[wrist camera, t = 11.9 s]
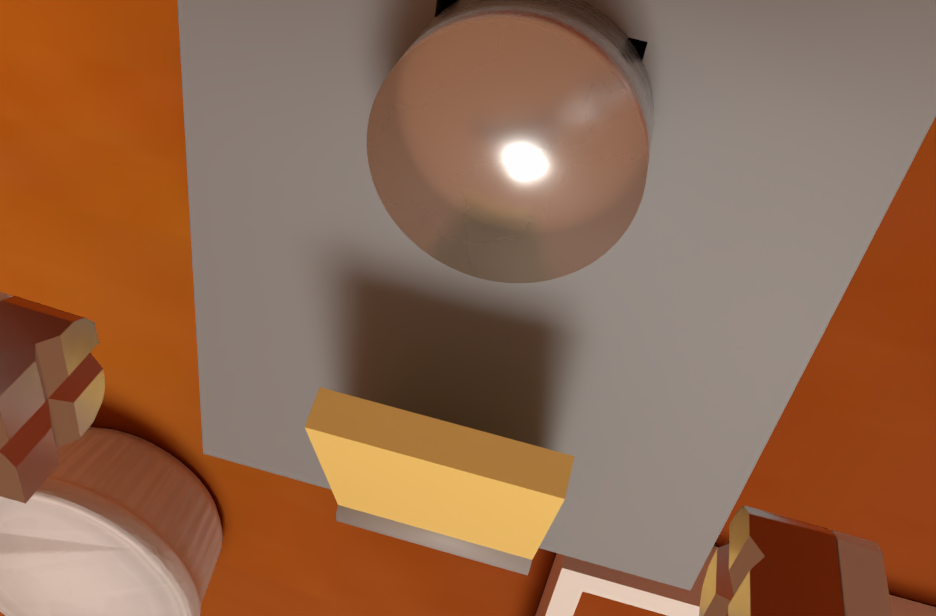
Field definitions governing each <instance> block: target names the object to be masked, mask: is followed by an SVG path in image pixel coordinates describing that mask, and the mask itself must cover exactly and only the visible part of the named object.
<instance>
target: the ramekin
mask: <svg viewBox="0 0 936 616" xmlns="http://www.w3.org/2000/svg"><path fill="white" fill-rule="evenodd" d="M58 450H59V465H58V466H57V467H56V468H55V469H54V470H53V472H52V473H51V474H50V475H49V476H48V478H47V479H46V480H45V481H44V482H43V484H42V485H41V486H40V487H39V488H38V490H37V491H36V492H35V493H34V494H33V496H32V497H31V498H30V499H29V500H28V502H27V503H22V502H19V501H15V500H11V499H8V498H4V497H1V496H0V612H2V613H3V614H4V615H5V616H200V613H201V603H202V600H203V597H204V595H205V592H206V590H207V587H208V584H209V581H210V579H211V576H212V573H213V570H214V567H215V565H216V562H217V559H218V556H219V553H220V551H221V544H222V540H223V537H222V526H221V523H220V517H219V514H218V510H217V507H216V505H215V502H214V500H213V499H212V497H211V495H210V493H209V492H208V490H207V489H206V487H205V486H204V485H203V483H202V482H201V481H200V479H199V478H198V477H197V476H196V475H195V474H194V473H193V472H192V471H191V470H190V469H189V468H187V467H186V466H185V465H184V464H183V463H182V462H180V461H179V460H178V459H176V458H175V457H174V456H172V455H171V454H169V453H168V452H166V451H165V450H163V449H161V448H160V447H158V446H156V445H154V444H152V443H150V442H148V441H146V440H144V439H142V438H139V437H137V436H134V435H131V434H128V433H125V432H121V431H117V430H113V429H107V428H98V427H89V428H88V429H87V430H86V432H85V433H84V434H83V435H82V437H81V438H79V439H77V440H75V441H72V442H70V443H68V444H65V445H63V446H61V447H58Z"/></svg>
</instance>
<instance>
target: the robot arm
mask: <svg viewBox="0 0 936 616" xmlns="http://www.w3.org/2000/svg"><path fill="white" fill-rule="evenodd" d="M98 343H99V341H98V337H97V332H96V328H95V323H94V322H92V321H90V320H88V319H86V318H84V317H80V316H77V315H74V314H71V313H68V312H65V311H61V310H58V309H55V308H52V307H49V306H46V305H42V304H39V303H36V302H33V301H30V300H26V299H23V298H20V297H17V296H12V295H9V294H5V293H2V292H0V496H1V497H4V498H8V499H11V500H15V501H19V502H22V503H27V502H28V500H29V499H30V498H31V497H32V496H33V494H34V493H35V492H36V491H37V490H38V488H39V487H40V486H41V485H42V484H43V482H44V481H45V480H46V479H47V478H48V476H49V475H50V474H51V473H52V472H53V470H54V469H55V468H56V467H57V466H58V465H59V450H58V447H61V446H63V445H65V444H68V443H70V442H72V441H75V440H77V439H79V438H81V437H82V435H83V434H84V433H85V432H86V430H87V429H88V428H89V427H90V425H91V424H92V423H93V422H94V420H95V417H96V415H97V413H98V410H99V408H100V406H101V404H102V401H103V396H104V388H105V379H104V372H103V368H102V367H101V366H100V364H99V363H98V362H97V361H96V359H95V358H94V357H93V356H92V355H91V353H90V352H91V351H92V350H93V349H94V347H95V346H96V345H97V344H98ZM699 616H893V614H892V608H891V602H890V596H889V590H888V584H887V578H886V572H885V566H884V560H883V554H882V550H881V549H880V547H879V546H878V544H877V543H876V542H873V541H870V540H866V539H862V538H859V537H855V536H852V535H848V534H844V533H841V532H837V531H834V530H830V531H829V530H828V529H827V528H824V527H820V526H817V525H813V524H809V523H806V522H802V521H798V520H795V519H791V518H787V517H784V516H780V515H776V514H773V513H769V512H766V511H762V510H758V509H755V508H751V507H747V506H743V507H742V508H741V509H740V510H738V511H737V513H736V515H735V517H734V518H733V520H732V522H731V524H730V536H729V544H726V545H724V546H721V547H719V548H717V550H716V552H715V554H714V556H713V558H712V560H711V562H710V564H709V566H708V569H707V573H706V576H705V580H704V583H703V586H702V592H701V599H700V608H699Z"/></svg>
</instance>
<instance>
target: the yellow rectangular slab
mask: <svg viewBox="0 0 936 616" xmlns="http://www.w3.org/2000/svg"><path fill="white" fill-rule="evenodd" d="M305 429H306V432H307V434H308V436H309V439H310V441H311V443H312V445H313V448H314V450H315V452H316V455H317V457H318V459H319V462H320V464H321V466H322V469H323V471H324V473H325V475H326V478H327V480H328V482H329V485H330V487H331V489H332V492H333V494H334V496H335V499H336V501H337V503H338V508H337V514H336V521H338V522H342V523H345V524H349V525H352V526H356V527H359V528H363V529H366V530H370V531H373V532H377V533H380V534H384V535H387V536H391V537H394V538H398V539H402V540H405V541H409V542H412V543H416V544H419V545H423V546H426V547H430V548H433V549H437V550H440V551H444V552H447V553H451V554H454V555H458V556H461V557H465V558H468V559H472V560H475V561H479V562H482V563H486V564H489V565H493V566H496V567H500V568H503V569H507V570H510V571H514V572H517V573H521V574H524V575H528V573H529V569H530V566H531V562H532V559H533V557H534V556H535V554H536V552H537V550H538V548H539V546H540V544H541V543H542V541H543V539H544V537H545V535H546V533H547V531H548V530H549V528H550V526H551V524H552V522H553V520H554V518H555V517H556V515H557V513H558V511H559V509H560V507H561V505H562V504H563V502H564V500H565V497H566V492H567V488H568V483H569V479H570V474H571V470H572V465H573V461H574V457H575V456H572V455H568V454H564V453H561V452H557V451H553V450H549V449H546V448H542V447H538V446H535V445H531V444H527V443H524V442H520V441H516V440H513V439H509V438H505V437H502V436H498V435H494V434H491V433H487V432H483V431H480V430H476V429H472V428H468V427H465V426H461V425H457V424H454V423H450V422H446V421H443V420H439V419H435V418H432V417H428V416H424V415H421V414H417V413H413V412H410V411H406V410H402V409H398V408H395V407H391V406H387V405H384V404H380V403H376V402H373V401H369V400H365V399H362V398H358V397H354V396H351V395H347V394H343V393H340V392H336V391H332V390H329V389H325V388H321V387H319V390H318V393H317V395H316V398H315V401H314V403H313V406H312V409H311V411H310V414H309V417H308V419H307V422H306V425H305Z"/></svg>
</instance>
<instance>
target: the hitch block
mask: <svg viewBox="0 0 936 616" xmlns="http://www.w3.org/2000/svg"><path fill="white" fill-rule="evenodd" d="M456 1H458V0H178V18H179V35H180V53H181V70H182V88H183V106H184V123H185V141H186V158H187V176H188V193H189V211H190V228H191V246H192V263H193V281H194V299H195V316H196V334H197V351H198V369H199V386H200V404H201V421H202V439H203V453H204V454H207V455H211V456H214V457H218V458H221V459H225V460H228V461H232V462H235V463H239V464H243V465H246V466H250V467H253V468H257V469H260V470H264V471H267V472H271V473H274V474H278V475H282V476H285V477H289V478H292V479H296V480H299V481H303V482H306V483H310V484H313V485H317V486H321V487H324V488H328V489H331V487H330V485H329V482H328V480H327V478H326V475H325V473H324V471H323V469H322V466H321V464H320V462H319V459H318V457H317V455H316V452H315V450H314V448H313V445H312V443H311V441H310V439H309V436H308V434H307V432H306V429H305V425H306V422H307V419H308V417H309V414H310V411H311V409H312V406H313V403H314V401H315V398H316V395H317V393H318V390H319V387H321V388H325V389H329V390H332V391H336V392H340V393H343V394H347V395H351V396H354V397H358V398H362V399H365V400H369V401H373V402H376V403H380V404H384V405H387V406H391V407H395V408H398V409H402V410H406V411H410V412H413V413H417V414H421V415H424V416H428V417H432V418H435V419H439V420H443V421H446V422H450V423H454V424H457V425H461V426H465V427H468V428H472V429H476V430H480V431H483V432H487V433H491V434H494V435H498V436H502V437H505V438H509V439H513V440H516V441H520V442H524V443H527V444H531V445H535V446H538V447H542V448H546V449H549V450H553V451H557V452H561V453H564V454H568V455H572V456H575V457H574V461H573V465H572V470H571V474H570V479H569V483H568V488H567V492H566V497H565V500H564V502H563V504H562V505H561V507H560V509H559V511H558V513H557V515H556V517H555V518H554V520H553V522H552V524H551V526H550V528H549V530H548V531H547V533H546V535H545V537H544V539H543V541H542V543H541V544H540V546H539V548H540V549H544V550H547V551H551V552H555V553H558V554H562V555H565V556H569V557H572V558H576V559H579V560H583V561H586V562H590V563H594V564H597V565H601V566H604V567H608V568H611V569H615V570H618V571H622V572H625V573H629V574H633V575H636V576H640V577H643V578H647V579H650V580H654V581H657V582H661V583H664V584H668V585H672V586H675V587H679V588H682V589H686V590H689V591H690V590H691V588H692V587H693V585H694V583H695V581H696V579H697V577H698V575H699V573H700V571H701V569H702V567H703V565H704V563H705V561H706V559H707V557H708V556H709V554H710V552H711V550H712V548H713V546H714V544H715V542H716V540H717V538H718V536H719V534H720V532H721V530H722V528H723V527H724V525H725V523H726V521H727V519H728V517H729V515H730V513H731V511H732V509H733V507H734V505H735V503H736V501H737V499H738V497H739V496H740V494H741V492H742V490H743V488H744V486H745V484H746V482H747V480H748V478H749V476H750V474H751V472H752V470H753V468H754V467H755V465H756V463H757V461H758V459H759V457H760V455H761V453H762V451H763V449H764V447H765V445H766V443H767V441H768V439H769V437H770V436H771V434H772V432H773V430H774V428H775V426H776V424H777V422H778V420H779V418H780V416H781V414H782V412H783V410H784V408H785V407H786V405H787V403H788V401H789V399H790V397H791V395H792V393H793V391H794V389H795V387H796V385H797V383H798V381H799V379H800V377H801V376H802V374H803V372H804V370H805V368H806V366H807V364H808V362H809V360H810V358H811V356H812V354H813V352H814V350H815V348H816V347H817V345H818V343H819V341H820V339H821V337H822V335H823V333H824V331H825V329H826V327H827V325H828V323H829V321H830V319H831V317H832V316H833V314H834V312H835V310H836V308H837V306H838V304H839V302H840V300H841V298H842V296H843V294H844V292H845V290H846V288H847V287H848V285H849V283H850V281H851V279H852V277H853V275H854V273H855V271H856V269H857V267H858V265H859V263H860V261H861V259H862V257H863V256H864V254H865V252H866V250H867V248H868V246H869V244H870V242H871V240H872V238H873V236H874V234H875V232H876V230H877V228H878V227H879V225H880V223H881V221H882V219H883V217H884V215H885V213H886V211H887V209H888V207H889V205H890V203H891V201H892V199H893V197H894V196H895V194H896V192H897V190H898V188H899V186H900V184H901V182H902V180H903V178H904V176H905V174H906V172H907V170H908V168H909V167H910V165H911V163H912V161H913V159H914V157H915V155H916V153H917V151H918V149H919V147H920V145H921V143H922V141H923V139H924V137H925V136H926V134H927V132H928V130H929V128H930V126H931V124H932V122H933V120H934V118H935V116H936V0H584V1H586V2H587V3H589V4H591V5H592V6H594V7H596V8H597V9H599V10H600V11H601V12H603V13H604V14H605V15H606V16H607V17H609V18H610V19H611V20H612V21H614V23H615V24H616V25H617V26H618V27H619V28H620V29H621V30H622V31H623V32H624V33H625V34H626V36H627V37H628V38H633V39H637V40H640V44H639V48H638V51H637V52H638V54H639V56H640V58H641V60H642V62H643V64H644V66H645V69H646V71H647V74H648V77H649V80H650V84H651V89H652V94H653V102H654V123H653V133H652V141H651V148H650V156H649V163H648V171H647V178H646V184H645V189H644V193H643V197H642V201H641V203H640V206H639V208H638V211H637V213H636V215H635V217H634V219H633V221H632V222H631V224H630V226H629V228H628V229H627V230H626V232H625V233H624V234H623V236H622V237H621V238H620V239H619V241H618V242H617V243H616V244H615V245H614V246H613V247H612V248H611V249H610V250H609V251H608V252H607V253H605V254H604V255H603V256H601V257H600V258H599V259H597V260H596V261H594V262H593V263H591V264H590V265H588V266H586V267H584V268H582V269H580V270H579V271H576V272H574V273H571V274H569V275H566V276H563V277H560V278H556V279H552V280H548V281H542V282H535V283H503V282H495V281H490V280H485V279H480V278H477V277H473V276H470V275H467V274H464V273H462V272H459V271H457V270H455V269H453V268H450V267H448V266H446V265H445V264H443V263H441V262H439V261H438V260H436V259H434V258H433V257H431V256H430V255H428V254H427V253H426V252H424V251H423V250H421V249H420V248H419V247H418V246H417V245H416V244H415V243H413V242H412V241H411V240H410V239H409V238H408V237H407V236H406V235H405V234H404V233H403V232H402V230H401V229H400V228H399V227H398V226H397V225H396V223H395V222H394V221H393V219H392V218H391V216H390V215H389V214H388V212H387V211H386V209H385V207H384V205H383V203H382V201H381V200H380V198H379V196H378V193H377V191H376V188H375V186H374V183H373V180H372V176H371V173H370V169H369V164H368V156H367V127H368V121H369V115H370V112H371V109H372V105H373V102H374V99H375V97H376V95H377V93H378V91H379V89H380V87H381V85H382V83H383V82H384V80H385V79H386V77H387V76H388V74H389V73H390V71H391V70H392V69H393V67H394V66H395V65H396V64H397V62H398V61H399V60H400V59H401V57H402V56H403V55H404V54H405V52H406V51H407V50H408V49H409V47H410V46H411V45H412V44H413V42H414V41H415V40H416V39H417V37H418V36H419V35H420V34H421V32H422V31H423V30H424V29H425V28H426V26H427V25H428V24H429V23H430V22H431V21H432V20H433V19H434V18H435V17H436V16H437V15H438V14H439V13H441V12H442V11H443V10H444V9H446V8H447V7H448V6H450V5H451V4H453V3H455V2H456ZM331 490H332V489H331Z"/></svg>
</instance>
